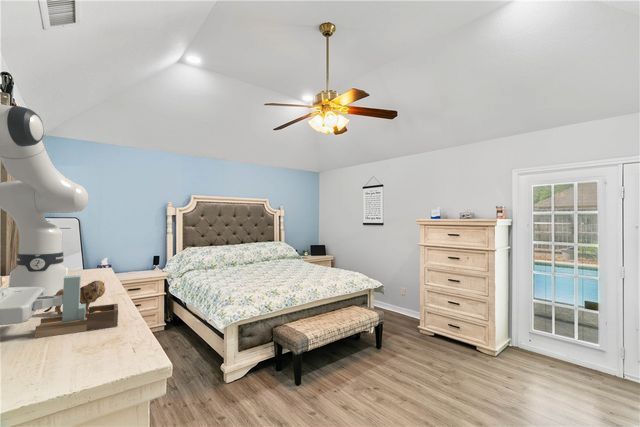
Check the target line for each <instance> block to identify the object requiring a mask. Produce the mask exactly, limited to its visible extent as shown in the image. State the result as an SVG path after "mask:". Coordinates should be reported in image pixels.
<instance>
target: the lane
mask: <svg viewBox="0 0 640 427" xmlns="http://www.w3.org/2000/svg"><path fill="white" fill-rule="evenodd" d="M34 332H35V334H34V339H39V338H44V337H45V338H47V337H53V336H58V335H59V336H60V335H66V334H74V333H79V332H88V331H87V313H86V314H85V320H78V321H70V322H63V323H62V315H58V316H51V317H43V318H40V324H39V325H35V331H34Z"/></svg>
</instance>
